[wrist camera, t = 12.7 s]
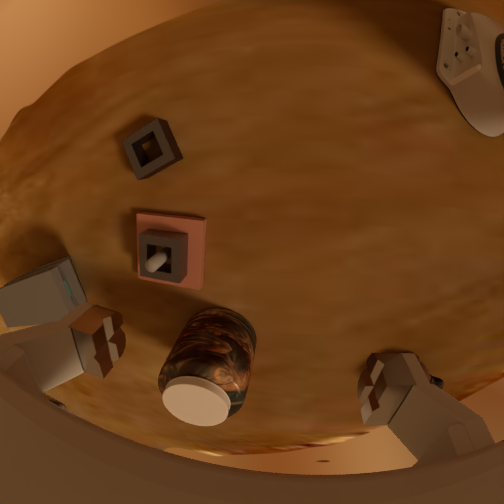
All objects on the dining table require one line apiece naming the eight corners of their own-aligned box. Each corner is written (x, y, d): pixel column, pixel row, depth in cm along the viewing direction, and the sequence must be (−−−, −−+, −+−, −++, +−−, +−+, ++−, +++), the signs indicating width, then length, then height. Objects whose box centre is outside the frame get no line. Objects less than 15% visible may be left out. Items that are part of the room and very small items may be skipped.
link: (148, 228, 37) (138, 233, 34) (188, 233, 37) (180, 239, 34) (149, 268, 39) (140, 276, 36) (187, 274, 39) (179, 283, 36)
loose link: (132, 142, 35) (121, 141, 32) (166, 120, 34) (157, 118, 31) (148, 178, 36) (137, 180, 34) (183, 158, 35) (174, 158, 32)
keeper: (141, 211, 38) (115, 222, 32) (206, 218, 37) (189, 231, 31) (142, 274, 41) (120, 294, 35) (203, 285, 41) (188, 309, 34)
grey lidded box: (93, 246, 41) (50, 270, 31) (110, 289, 43) (73, 320, 33) (24, 272, 46) (-9, 292, 36) (38, 304, 48) (7, 327, 38)
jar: (247, 372, 45) (233, 441, 31) (182, 354, 46) (150, 416, 31) (264, 317, 41) (252, 389, 27) (189, 297, 42) (148, 359, 27)
